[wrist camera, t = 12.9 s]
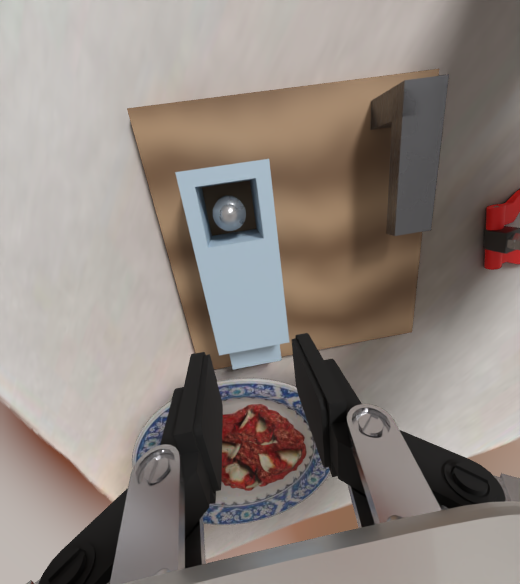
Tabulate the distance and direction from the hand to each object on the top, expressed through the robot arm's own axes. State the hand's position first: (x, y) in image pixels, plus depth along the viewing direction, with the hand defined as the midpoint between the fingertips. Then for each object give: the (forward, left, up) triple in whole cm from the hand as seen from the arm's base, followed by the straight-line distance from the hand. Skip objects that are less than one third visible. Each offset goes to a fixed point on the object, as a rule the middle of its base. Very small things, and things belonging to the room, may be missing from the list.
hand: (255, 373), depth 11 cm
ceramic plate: (+24, -4, -16) cm, 29 cm away
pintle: (-6, 0, -15) cm, 16 cm away
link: (0, 0, -14) cm, 14 cm away
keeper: (-7, +14, -14) cm, 21 cm away
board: (-2, +6, -15) cm, 16 cm away
